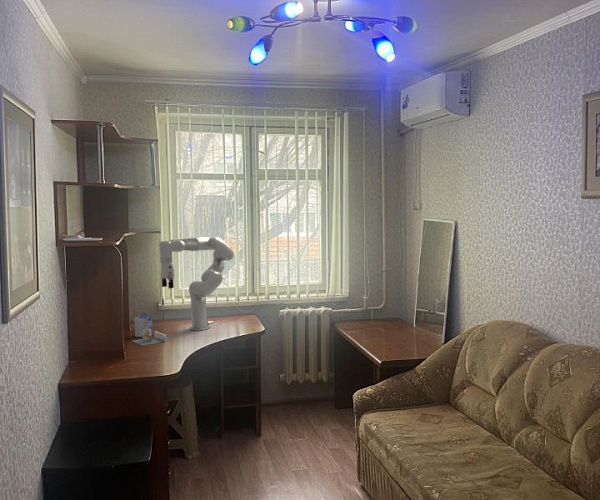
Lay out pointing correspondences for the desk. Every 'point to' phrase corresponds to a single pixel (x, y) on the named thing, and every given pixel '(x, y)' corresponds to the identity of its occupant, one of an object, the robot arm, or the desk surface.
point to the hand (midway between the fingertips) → (167, 287)
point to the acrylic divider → (160, 336)
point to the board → (140, 342)
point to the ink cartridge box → (142, 325)
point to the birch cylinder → (147, 335)
